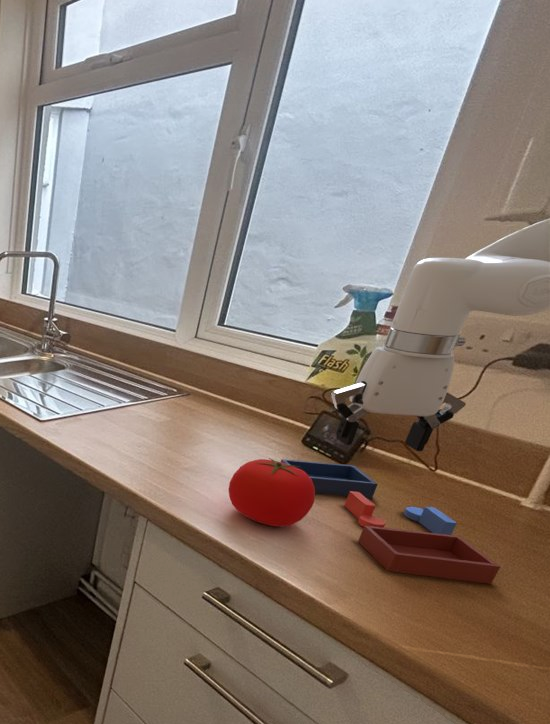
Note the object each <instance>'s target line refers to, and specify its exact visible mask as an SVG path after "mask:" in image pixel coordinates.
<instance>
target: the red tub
mask: <svg viewBox="0 0 550 724" xmlns="http://www.w3.org/2000/svg"><path fill="white" fill-rule="evenodd" d="M357 542H358V543H359V544H360V545H361V546H362V547H363V548H364V550H366V552H368V553H369V554H370V555H371V556H372V557H373V558H374V559H375V560H376V561H377V562H378V563H379V564H380V565H381V566H382V567H383V568H384V569H385V570H386V571H387V572H392V573H401V574H408V575H417V576H424V577H433V578H438V579H439V578H440V579H448V580H455V581H457V580H458V581H463V582H464V581H465V582H472V583H479V584H489V585H492V583H493V581H494V580H495V578H496V577H497V575H498V572H499V570H500V569H501V566H500V565H499V564H497V563H496V562H495V561H494V560H493V559H491V558H489V557H488V556H487V555H486V554H485V553H483V552H481V551H480V550H479V549H478V548H476V547H475V546H473V545H472V544H471V543H469V541H467V540H466V539H465V538H462V537H461V536H460V535H454V534H451V535H446V534H437V533H432V532H427V531H419V530H418V531H417V530H409V529H401V528H400V529H399V528H389V527H384V528H382V527H373V526H364V527H363V528H362V530H361V533H360V535H359V537H358V540H357Z"/></svg>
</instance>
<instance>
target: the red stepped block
mask: <svg viewBox="0 0 550 724" xmlns="http://www.w3.org/2000/svg"><path fill="white" fill-rule="evenodd" d="M344 507H345V508H346V509H347V510H348V511H349V512H351V513H352V514H353V515H354V516H355V517H356V518H357V519H358V521H357V524H359V525H360V526H361V527H363V528H364V526H373V527H382V528H385V527H386V521H385V520H384V519H382V518H380V517H378V516H375V515H373V513H374V511H375V508H376V505H375V504H374V503H373V502H372V501H371V500H370V499H369V498H366V497H364V496H363V495H362V494H361V493H360V492H353V491H350V492H349V495H348V496H347V497H346V501H345V503H344Z"/></svg>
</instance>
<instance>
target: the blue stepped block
mask: <svg viewBox="0 0 550 724" xmlns="http://www.w3.org/2000/svg"><path fill="white" fill-rule="evenodd" d="M403 516H405V518H407V519H410V520H412V521H416V522H418V523H419V524H420V525H422V526H423V527H424V528H426V529H427V530H428V531H430V533H437V534H446V535H453V532H454V530H455V529H456V526H457V524H458V523H457V521H455V520H454V519H452V518H451V517H449V516H448V515H446V514H445V513H443V512H442V511H441V510H439V509H437V508H436V507H432V506H424V508H420V507H416V506H407V507H405V509H404V512H403Z"/></svg>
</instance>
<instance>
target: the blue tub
mask: <svg viewBox="0 0 550 724" xmlns="http://www.w3.org/2000/svg"><path fill="white" fill-rule="evenodd" d="M280 462H282V463H285V464H288V465H293V466H294V467H296V466H300V467H296V468H298V469H301V470H303V471H305V472H306V473H307V474H308V475H309V476H310V478H311V479H312V482H313V484H314V489H315V494H325V495H326V494H327V495H333V496H334V495H336V496H345V497H348V495H349V492H350V491H353V492H360V493H361V494H362V495H363V496H364V497H366V498H367V499H373V497H374V495H375V492H376V489H377V487H378V485H379V484H378V483H377V482H376V481H375V480H373V479H372V478H371V477H369V475H367V474H365V473H364V472H363V471H361V470H360V469H359V468H357V466H356V465H354V464H343V463H342V464H341V463H331V462H319V461H308V460H295V459H285V458H284V459H283V458H281V460H280Z"/></svg>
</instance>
